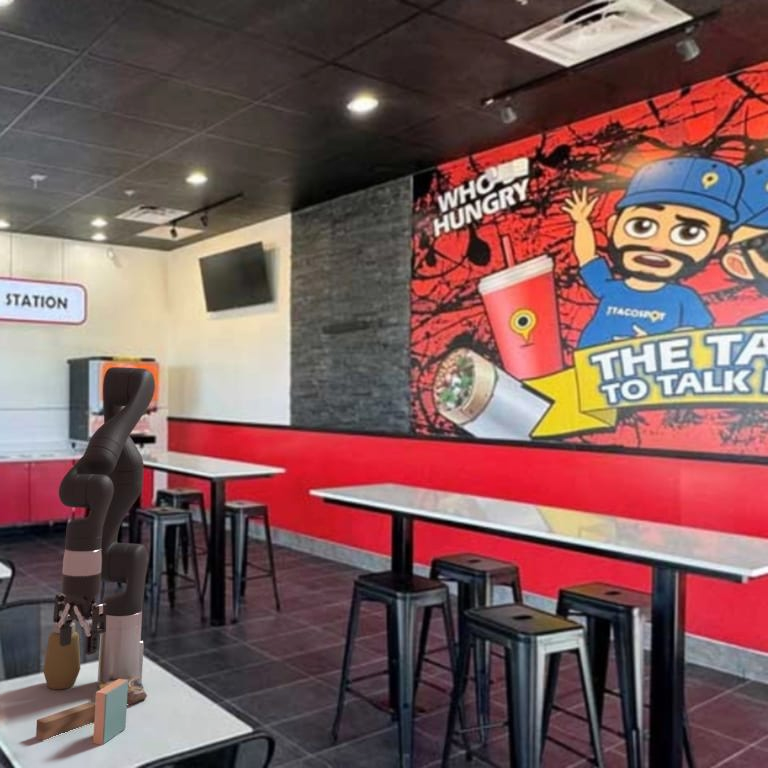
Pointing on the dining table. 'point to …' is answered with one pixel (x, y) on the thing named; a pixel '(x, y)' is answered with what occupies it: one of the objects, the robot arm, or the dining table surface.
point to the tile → (110, 711)
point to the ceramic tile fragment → (130, 689)
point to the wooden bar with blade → (65, 721)
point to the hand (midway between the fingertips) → (77, 649)
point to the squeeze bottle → (62, 660)
